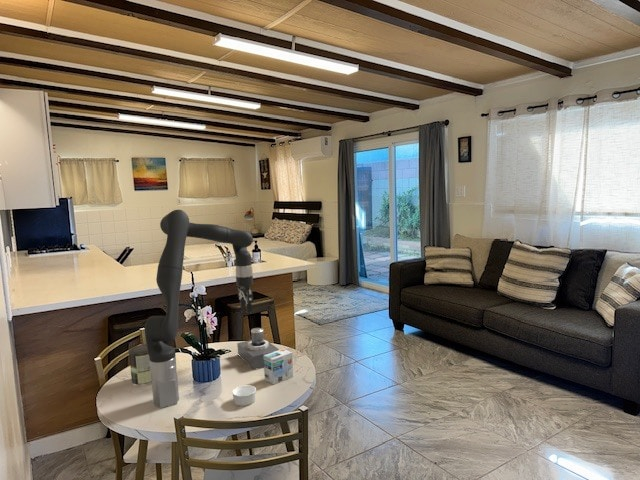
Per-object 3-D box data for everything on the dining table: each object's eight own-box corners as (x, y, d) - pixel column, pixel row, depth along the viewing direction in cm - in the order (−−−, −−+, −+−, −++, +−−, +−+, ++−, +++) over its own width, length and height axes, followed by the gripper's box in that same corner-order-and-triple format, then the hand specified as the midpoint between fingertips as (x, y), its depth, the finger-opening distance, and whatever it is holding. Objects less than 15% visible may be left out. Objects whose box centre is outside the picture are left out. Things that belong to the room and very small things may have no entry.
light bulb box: (273, 385, 175) (271, 359, 174) (263, 379, 180) (262, 355, 179) (294, 376, 182) (293, 352, 181) (284, 371, 187) (283, 347, 186)
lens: (266, 346, 200) (265, 330, 199) (254, 349, 197) (253, 332, 196) (261, 343, 205) (260, 327, 204) (249, 346, 202) (249, 329, 201)
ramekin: (235, 395, 167) (235, 385, 167) (258, 395, 167) (257, 384, 167) (230, 407, 159) (229, 396, 158) (254, 406, 158) (253, 395, 158)
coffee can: (126, 385, 179) (123, 353, 177) (140, 375, 189) (137, 344, 187) (149, 386, 178) (146, 353, 176) (162, 375, 188) (159, 344, 186)
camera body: (280, 362, 197) (279, 346, 196) (254, 369, 190) (253, 353, 189) (263, 349, 214) (262, 334, 213) (238, 355, 207) (237, 340, 206)
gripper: (257, 276, 192) (259, 311, 194) (246, 271, 205) (248, 305, 206) (241, 278, 189) (243, 314, 190) (231, 273, 201) (233, 307, 203)
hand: (246, 309), depth 198 cm, fingers open, 8 cm apart
